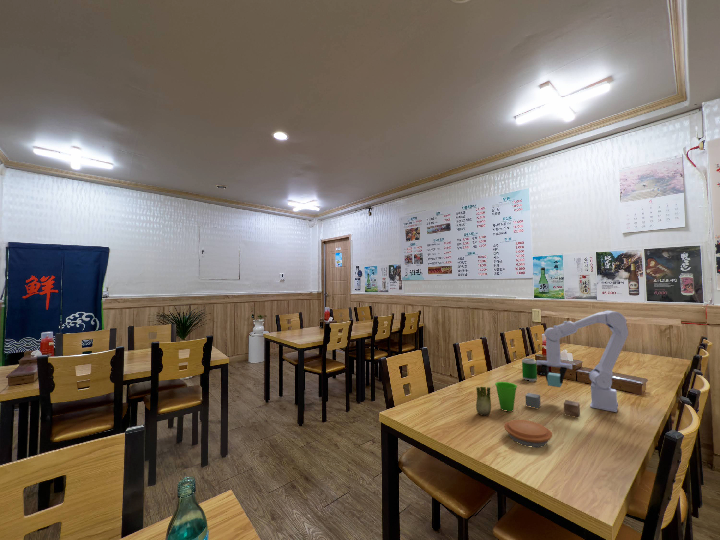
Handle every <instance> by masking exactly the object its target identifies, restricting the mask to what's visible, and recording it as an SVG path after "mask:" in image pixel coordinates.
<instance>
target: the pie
mask: <svg viewBox="0 0 720 540" xmlns="http://www.w3.org/2000/svg"><path fill="white" fill-rule="evenodd" d="M503 428H504V430H505V431H506V433H508V435H509V437H510V438H512V439H513V440H514V441H513V442H515V441H516V442H518V443H520V444H519V445H521V444H522V445H521V446H524V445H526V446H525V447H528V446H532V447H531V448H542V447H541V446H543V447H545V446H546V445H547V443H548V442H549V441H550V440H551V439H552V437H553V432H552V431H551V430H550V429H549V428H548V427H546V426H544V425H542V424H540V423H538V422H535V421H531V420H526V419H515V420H514V419H513V420H510V421H507V422H505V423H504V425H503ZM512 439H511V440H512ZM516 442H515V443H516ZM518 443H517V444H518ZM545 444H546V445H545ZM544 445H545V446H544Z"/></svg>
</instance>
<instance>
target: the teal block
mask: <svg viewBox="0 0 720 540" xmlns="http://www.w3.org/2000/svg"><path fill="white" fill-rule="evenodd" d="M546 382H547V386H549V387H555V388H561V387H562V386H563V383H562V384H560V373H557V372H556V373H555V372H549V373H548V374H547V380H546Z"/></svg>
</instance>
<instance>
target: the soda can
mask: <svg viewBox="0 0 720 540" xmlns="http://www.w3.org/2000/svg"><path fill="white" fill-rule="evenodd" d="M536 361H537V360H535V358H527V357H526V358H522V360H521V367H522V369H521V370H522V379H523V380H524V379H525V380H524V381H526V380H529V381H528V382H536V381H537V380H538V369H537V366H538V365H537V363H536ZM535 380H536V381H535Z"/></svg>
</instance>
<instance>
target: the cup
mask: <svg viewBox="0 0 720 540" xmlns="http://www.w3.org/2000/svg"><path fill="white" fill-rule="evenodd" d="M494 385H495V387H496V392H497V396H498V398H497V399H498V401H499V402H498V403H499V407H500V408H499V409H500V410H501V409H503V410H507V411H512V410H513V411H514V409H515V408H514V407H515V400H516V399H515V398H516V393H517V392H516V391H517V388H518V386H517V384H516V383H512V382H508V381H498V382H495V384H494ZM503 410H502V411H503ZM513 411H512V412H513Z"/></svg>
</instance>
